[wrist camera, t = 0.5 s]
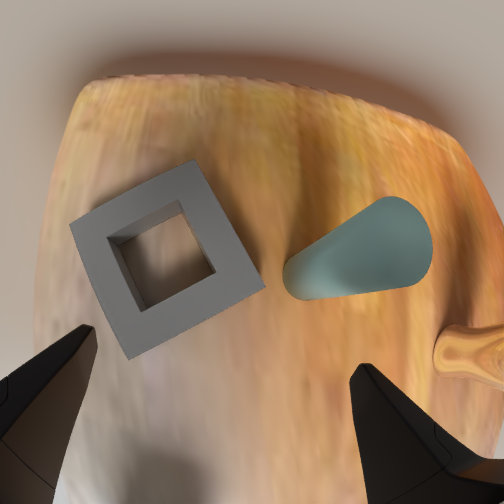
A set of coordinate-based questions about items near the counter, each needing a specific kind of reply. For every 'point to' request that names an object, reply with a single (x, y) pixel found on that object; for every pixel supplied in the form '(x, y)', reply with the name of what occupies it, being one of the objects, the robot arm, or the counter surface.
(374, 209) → the peg
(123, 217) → the socket block
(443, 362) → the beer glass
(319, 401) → the counter surface
